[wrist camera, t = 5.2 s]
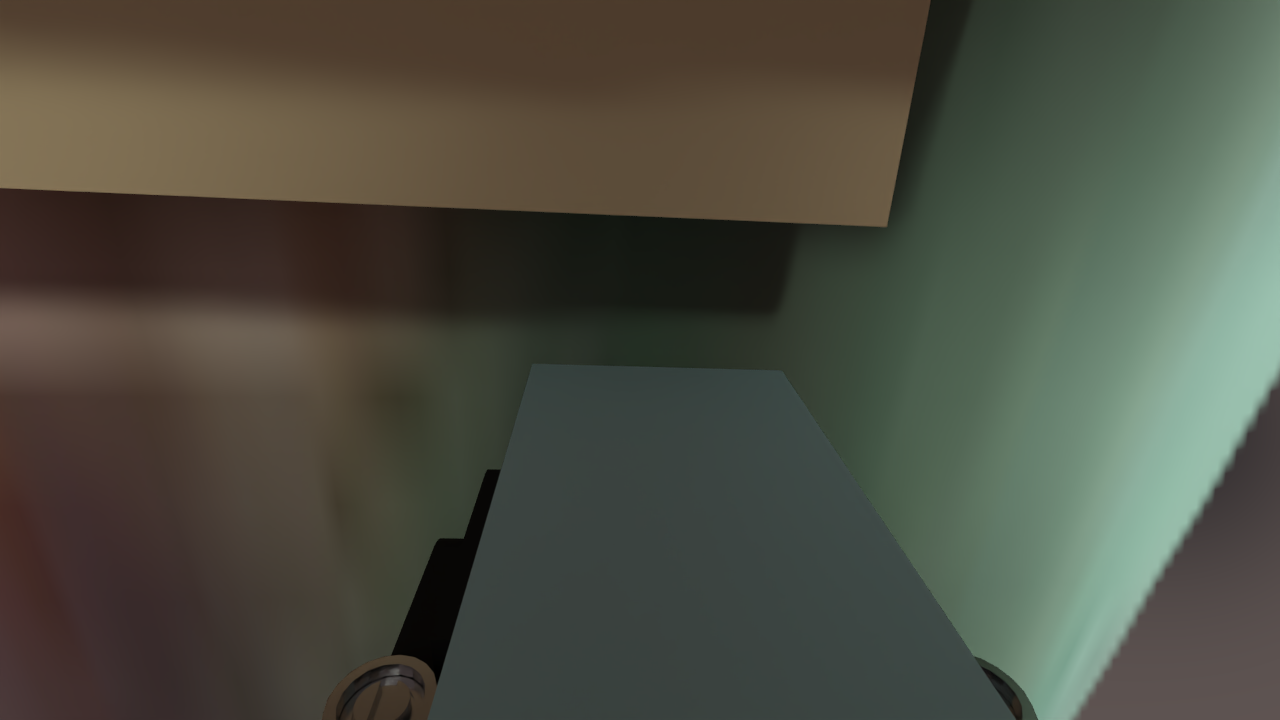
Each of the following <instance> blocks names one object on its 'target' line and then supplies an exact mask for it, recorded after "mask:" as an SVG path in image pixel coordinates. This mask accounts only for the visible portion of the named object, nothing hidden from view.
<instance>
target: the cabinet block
mask: <svg viewBox="0 0 1280 720" xmlns="http://www.w3.org/2000/svg"><path fill="white" fill-rule="evenodd" d="M427 720H1016V719H1015V717H1014V716H1013V714H1012V713H1011V711H1010V710H1009V708H1008V707H1007V705H1006V704H1005V702H1004V701H1003V699H1002V698H1001V696H1000V695H999V693H998V692H997V690H996V689H995V687H994V686H993V685H992V683H991V682H990V680H989V679H988V677H987V676H986V674H985V673H984V671H983V670H982V668H981V667H980V665H979V664H978V662H977V661H976V659H975V658H974V656H973V655H972V653H971V652H970V650H969V649H968V647H967V646H966V644H965V643H964V641H963V640H962V638H961V637H960V635H959V634H958V632H957V631H956V629H955V628H954V626H953V625H952V623H951V622H950V620H949V619H948V617H947V616H946V614H945V613H944V611H943V610H942V608H941V607H940V606H939V604H938V603H937V601H936V600H935V598H934V597H933V595H932V594H931V592H930V591H929V589H928V588H927V586H926V585H925V583H924V582H923V580H922V579H921V577H920V576H919V574H918V573H917V571H916V570H915V568H914V567H913V565H912V564H911V562H910V561H909V559H908V558H907V556H906V555H905V553H904V552H903V550H902V549H901V547H900V546H899V544H898V543H897V541H896V540H895V538H894V537H893V535H892V534H891V532H890V531H889V529H888V528H887V527H886V525H885V524H884V522H883V521H882V519H881V518H880V516H879V515H878V513H877V512H876V510H875V509H874V507H873V506H872V504H871V503H870V501H869V500H868V498H867V497H866V495H865V494H864V492H863V491H862V489H861V488H860V486H859V485H858V483H857V482H856V480H855V479H854V477H853V476H852V474H851V473H850V471H849V470H848V468H847V467H846V465H845V464H844V462H843V461H842V459H841V458H840V456H839V455H838V453H837V452H836V450H835V449H834V448H833V446H832V445H831V443H830V442H829V440H828V439H827V437H826V436H825V434H824V433H823V431H822V430H821V428H820V427H819V425H818V424H817V422H816V421H815V419H814V418H813V416H812V415H811V413H810V412H809V410H808V409H807V407H806V406H805V404H804V403H803V401H802V400H801V398H800V397H799V395H798V394H797V392H796V391H795V389H794V388H793V386H792V385H791V383H790V382H789V380H788V379H787V377H786V376H785V374H784V373H783V371H781V370H745V369H709V368H672V367H636V366H599V365H563V364H532V367H531V370H530V373H529V377H528V380H527V384H526V387H525V390H524V394H523V397H522V400H521V404H520V407H519V411H518V414H517V417H516V421H515V424H514V428H513V431H512V434H511V438H510V441H509V444H508V448H507V451H506V455H505V458H504V461H503V465H502V468H501V472H500V475H499V478H498V482H497V485H496V489H495V492H494V495H493V499H492V502H491V505H490V509H489V512H488V516H487V519H486V522H485V526H484V529H483V533H482V536H481V539H480V543H479V546H478V549H477V553H476V556H475V560H474V563H473V566H472V570H471V573H470V577H469V580H468V583H467V587H466V590H465V594H464V597H463V600H462V604H461V607H460V610H459V614H458V617H457V621H456V624H455V627H454V631H453V634H452V638H451V641H450V644H449V648H448V651H447V654H446V658H445V661H444V665H443V668H442V671H441V675H440V678H439V682H438V685H437V688H436V692H435V695H434V699H433V702H432V705H431V709H430V712H429V715H428V719H427Z"/></svg>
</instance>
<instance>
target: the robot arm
mask: <svg viewBox="0 0 1280 720" xmlns="http://www.w3.org/2000/svg"><path fill="white" fill-rule="evenodd" d="M500 472H501V470H489V469H488V470H487V471H486V473H485V476H484V479H483V482H482V485H481V488H480V491H479V494H478V497H477V500H476V503H475V506H474V509H473V512H472V515H471V518H470V521H469V524H468V527H467V530H466V533H465V536H464V539H445V538H440V539H439V540H438V541H437V542H436V544H435V546H434V548H433V551H432V554H431V556H430V559H429V561H428V564H427V566H426V569H425V571H424V574H423V576H422V579H421V581H420V584H419V586H418V589H417V591H416V594H415V597H414V599H413V602H412V604H411V607H410V609H409V612H408V614H407V617H406V619H405V622H404V624H403V627H402V629H401V632H400V634H399V637H398V640H397V642H396V645H395V647H394V650H393V652H392V655H391V656H385V657H381V658H378V659H375V660H373V661H370V662H367V663H365V664H364V665H362V666H360V667H358V668H357V669H355V670H353V671H352V672H351V673H349V674H348V675H347V676H346V677H345V678H344V679H343V680H342V681H341V682H340V683H338V685H337V686H336V688H335V689H334V690H333V692H332V693H331V695H330V696H329V698H328V700H327V703H326V706H325V709H324V712H323V716H322V720H427V719H428V715H429V712H430V709H431V705H432V702H433V699H434V695H435V692H436V688H437V685H438V682H439V678H440V675H441V671H442V668H443V665H444V661H445V658H446V654H447V651H448V648H449V644H450V641H451V638H452V634H453V631H454V627H455V624H456V621H457V617H458V614H459V610H460V607H461V604H462V600H463V597H464V594H465V590H466V587H467V583H468V580H469V577H470V573H471V570H472V566H473V563H474V560H475V556H476V553H477V549H478V546H479V543H480V539H481V536H482V533H483V529H484V526H485V522H486V519H487V516H488V512H489V509H490V505H491V502H492V499H493V495H494V492H495V489H496V485H497V482H498V478H499V475H500ZM974 658H975V659H976V661H977V662H978V664H979V665H980V667H981V668H982V670H983V671H984V673H985V674H986V676H987V677H988V679H989V680H990V682H991V683H992V685H993V686H994V687H995V689H996V690H997V692H998V693H999V695H1000V696H1001V698H1002V699H1003V701H1004V702H1005V704H1006V705H1007V707H1008V708H1009V710H1010V711H1011V713H1012V714H1013V716H1014V717H1015V719H1016V720H1038V718H1037V716H1036V713H1035V711H1034V708H1033V706H1032V704H1031V702H1030V701H1029V699H1028V697H1027V696H1026V694H1025V692H1024V691H1023V690H1022V689H1021V688H1020V686H1019V685H1018V684H1017V683H1016V682H1015V681H1014V680H1013V679H1012V678H1011V677H1010V676H1008V675H1007V674H1006V673H1004V672H1003V671H1002V670H1000V669H999V668H998V667H996V666H994V665H992V664H990V663H989V662H987V661H985V660H983V659H981V658H978V657H975V656H974Z"/></svg>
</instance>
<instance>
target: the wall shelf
mask: <svg viewBox="0 0 1280 720" xmlns="http://www.w3.org/2000/svg"><path fill="white" fill-rule="evenodd" d="M930 2H931V0H0V188H11V189H34V190H57V191H79V192H102V193H125V194H148V195H170V196H193V197H216V198H239V199H261V200H284V201H307V202H330V203H352V204H375V205H398V206H421V207H443V208H466V209H489V210H512V211H534V212H557V213H580V214H603V215H625V216H648V217H671V218H694V219H716V220H739V221H762V222H785V223H807V224H830V225H853V226H876V227H887V223H888V218H889V213H890V208H891V203H892V197H893V192H894V187H895V182H896V177H897V172H898V167H899V161H900V156H901V151H902V146H903V141H904V136H905V131H906V125H907V120H908V115H909V110H910V105H911V100H912V94H913V89H914V84H915V79H916V74H917V69H918V64H919V58H920V53H921V48H922V43H923V38H924V33H925V28H926V22H927V17H928V12H929V7H930Z"/></svg>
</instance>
